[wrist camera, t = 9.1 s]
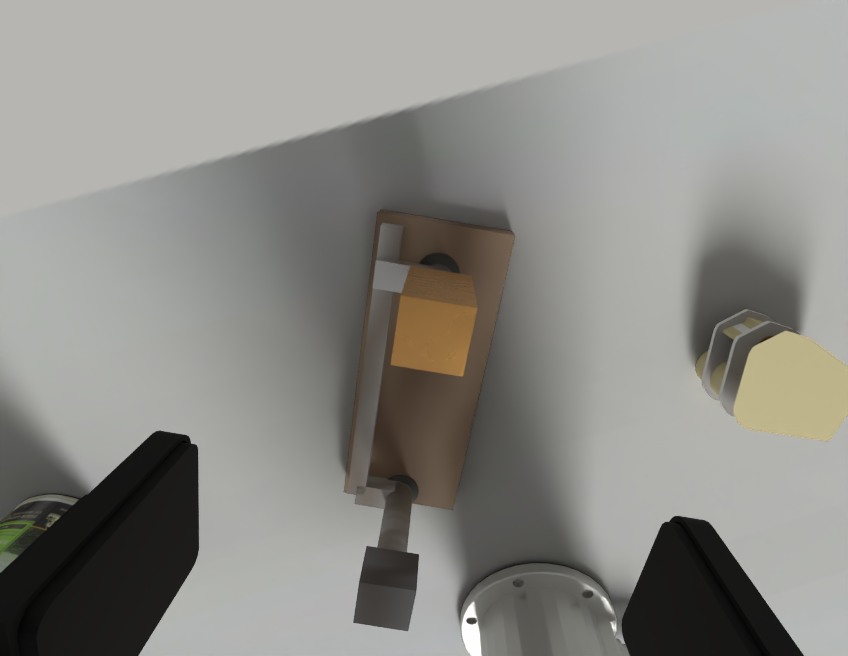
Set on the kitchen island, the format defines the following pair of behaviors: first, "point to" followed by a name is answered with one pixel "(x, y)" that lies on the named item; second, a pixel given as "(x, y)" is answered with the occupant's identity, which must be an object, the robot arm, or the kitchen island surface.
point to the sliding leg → (429, 315)
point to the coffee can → (29, 524)
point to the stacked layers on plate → (774, 378)
